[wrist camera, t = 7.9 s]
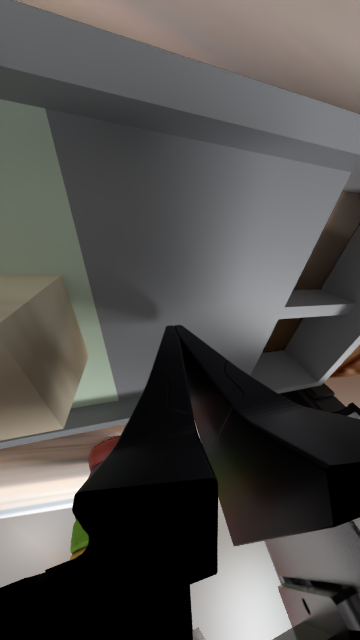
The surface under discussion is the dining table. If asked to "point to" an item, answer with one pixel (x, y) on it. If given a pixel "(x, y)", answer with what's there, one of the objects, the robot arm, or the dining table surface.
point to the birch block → (37, 354)
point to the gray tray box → (170, 207)
